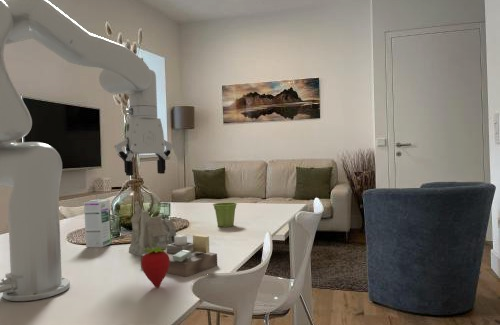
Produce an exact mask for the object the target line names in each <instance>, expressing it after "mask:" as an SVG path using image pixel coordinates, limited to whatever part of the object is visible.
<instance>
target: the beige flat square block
mask: <svg viewBox="0 0 500 325" xmlns="http://www.w3.org/2000/svg"><path fill="white" fill-rule="evenodd" d="M192 243H193V251H196V252H202V253H208V252H210V236H209V235H202V234H193V235H192Z"/></svg>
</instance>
